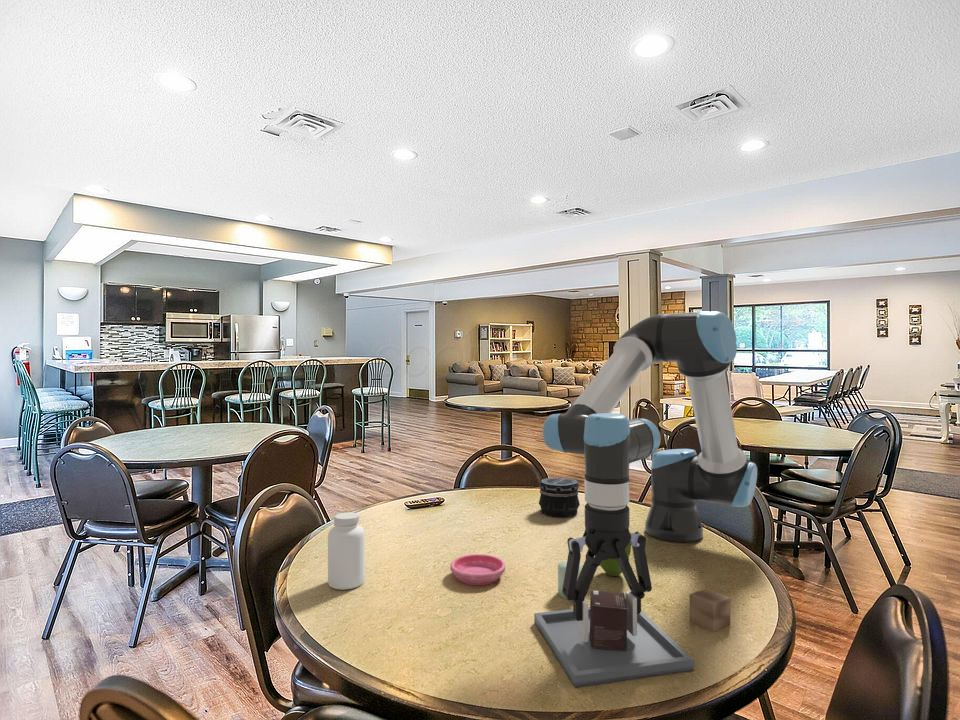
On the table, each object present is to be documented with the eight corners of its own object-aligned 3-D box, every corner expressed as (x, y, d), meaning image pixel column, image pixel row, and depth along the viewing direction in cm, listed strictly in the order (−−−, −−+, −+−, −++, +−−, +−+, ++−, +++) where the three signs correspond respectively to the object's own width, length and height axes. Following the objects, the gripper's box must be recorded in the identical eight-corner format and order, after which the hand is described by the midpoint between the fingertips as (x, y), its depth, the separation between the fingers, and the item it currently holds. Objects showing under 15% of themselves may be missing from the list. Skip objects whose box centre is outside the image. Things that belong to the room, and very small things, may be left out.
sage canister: (576, 587, 116) (576, 559, 116) (585, 598, 111) (585, 569, 111) (554, 590, 115) (554, 562, 115) (563, 600, 110) (562, 571, 110)
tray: (632, 611, 105) (632, 602, 105) (693, 670, 85) (693, 659, 85) (534, 622, 101) (534, 613, 101) (574, 687, 81) (574, 675, 81)
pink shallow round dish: (478, 562, 131) (478, 549, 131) (516, 577, 122) (516, 563, 122) (439, 577, 122) (439, 563, 122) (477, 594, 113) (477, 579, 113)
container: (539, 506, 178) (539, 476, 178) (578, 507, 176) (578, 477, 176) (538, 517, 165) (538, 485, 165) (580, 519, 163) (580, 486, 163)
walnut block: (706, 613, 104) (706, 588, 104) (730, 624, 100) (730, 598, 100) (689, 620, 101) (689, 594, 101) (713, 632, 97) (713, 604, 97)
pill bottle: (371, 578, 122) (371, 511, 121) (352, 593, 114) (351, 522, 114) (341, 573, 124) (340, 508, 124) (320, 588, 117) (319, 519, 116)
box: (627, 652, 90) (628, 608, 89) (590, 648, 91) (590, 605, 91) (623, 633, 96) (624, 592, 95) (589, 629, 97) (590, 589, 97)
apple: (585, 570, 125) (585, 521, 125) (615, 564, 128) (615, 516, 128) (609, 585, 117) (608, 532, 117) (640, 578, 120) (639, 527, 120)
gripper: (651, 494, 99) (651, 617, 99) (541, 502, 94) (542, 630, 95) (674, 505, 91) (674, 638, 92) (556, 514, 87) (557, 654, 87)
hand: (607, 634), depth 93 cm, fingers open, 8 cm apart
